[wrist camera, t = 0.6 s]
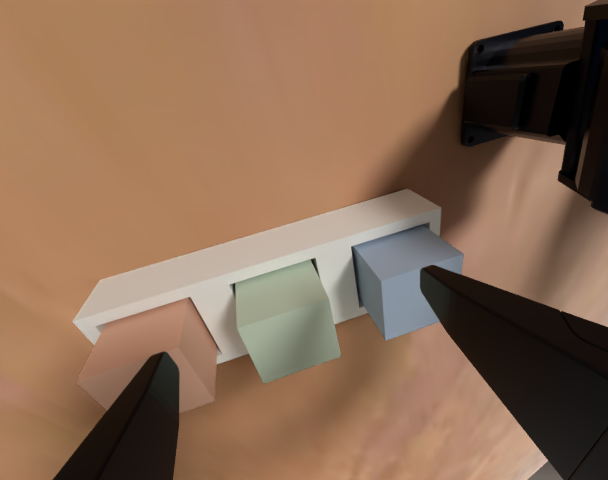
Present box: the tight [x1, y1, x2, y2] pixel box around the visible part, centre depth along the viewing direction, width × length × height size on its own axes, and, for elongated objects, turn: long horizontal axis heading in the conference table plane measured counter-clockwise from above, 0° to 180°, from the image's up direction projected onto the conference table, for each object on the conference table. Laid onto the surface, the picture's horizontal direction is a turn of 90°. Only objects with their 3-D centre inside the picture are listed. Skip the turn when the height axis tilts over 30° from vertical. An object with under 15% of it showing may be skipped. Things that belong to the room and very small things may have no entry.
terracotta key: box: [76, 297, 217, 414], centre depth 17 cm, size 5×5×5 cm
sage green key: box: [235, 260, 341, 384], centre depth 18 cm, size 5×5×5 cm
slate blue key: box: [351, 225, 464, 341], centre depth 19 cm, size 5×5×5 cm
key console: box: [72, 189, 441, 364], centre depth 20 cm, size 23×7×4 cm, turn 102°
